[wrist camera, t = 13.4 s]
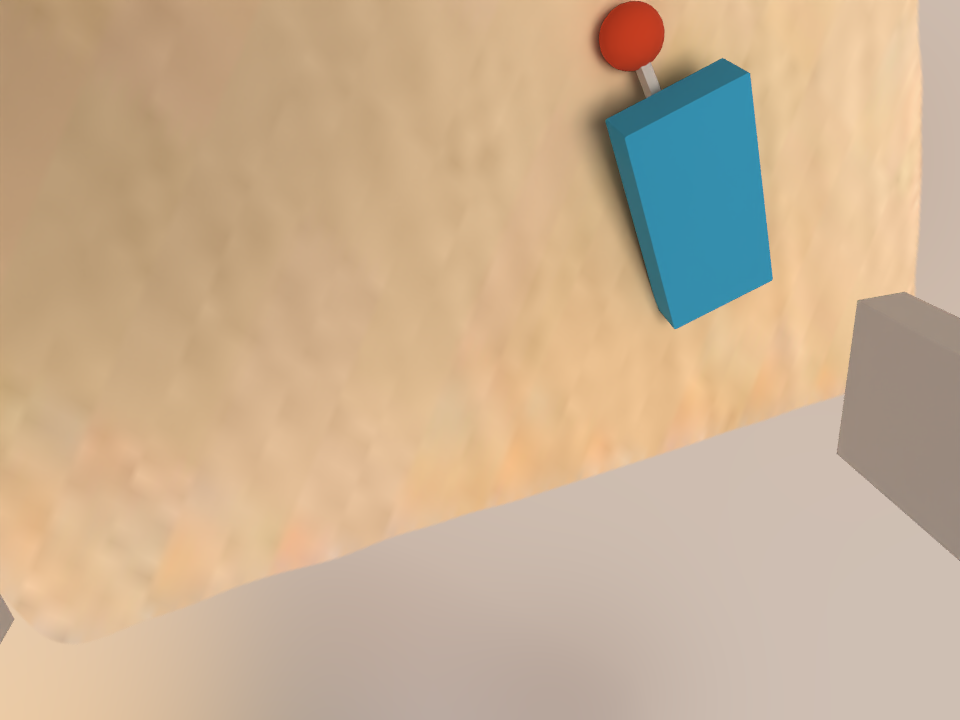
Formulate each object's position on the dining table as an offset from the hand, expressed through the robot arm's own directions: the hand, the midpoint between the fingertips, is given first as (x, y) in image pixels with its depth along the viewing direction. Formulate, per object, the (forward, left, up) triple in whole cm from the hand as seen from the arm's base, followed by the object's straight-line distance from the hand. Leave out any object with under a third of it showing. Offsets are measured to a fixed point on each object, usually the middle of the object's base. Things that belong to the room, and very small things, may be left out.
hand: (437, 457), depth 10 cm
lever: (+16, +5, -32) cm, 37 cm away
